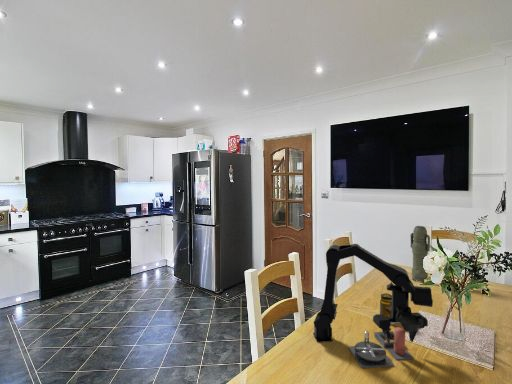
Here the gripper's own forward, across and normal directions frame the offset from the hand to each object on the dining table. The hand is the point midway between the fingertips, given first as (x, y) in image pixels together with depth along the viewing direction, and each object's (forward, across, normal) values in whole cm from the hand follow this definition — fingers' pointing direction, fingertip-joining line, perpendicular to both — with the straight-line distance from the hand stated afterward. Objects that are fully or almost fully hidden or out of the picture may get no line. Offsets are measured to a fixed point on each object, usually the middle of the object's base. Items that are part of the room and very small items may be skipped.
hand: (399, 342), depth 108 cm
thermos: (+5, +57, +72) cm, 92 cm away
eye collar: (+5, 0, +8) cm, 9 cm away
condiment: (+5, +8, +26) cm, 27 cm away
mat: (+5, 0, 0) cm, 5 cm away
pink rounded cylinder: (+4, 0, 0) cm, 4 cm away
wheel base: (+5, -12, 0) cm, 13 cm away
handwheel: (+3, -12, 0) cm, 12 cm away
